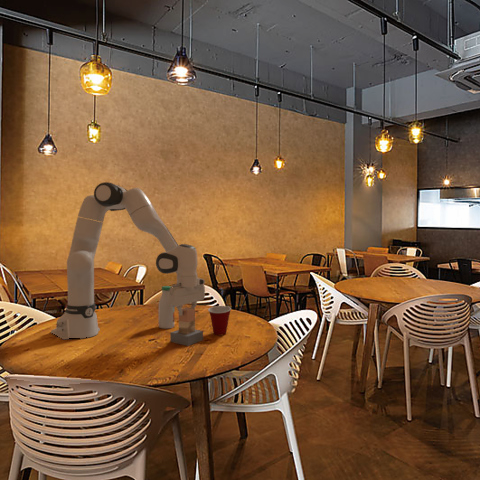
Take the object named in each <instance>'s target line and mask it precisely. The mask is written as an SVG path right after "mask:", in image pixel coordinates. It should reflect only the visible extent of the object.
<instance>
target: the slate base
mask: <svg viewBox="0 0 480 480" xmlns="http://www.w3.org/2000/svg"><path fill="white" fill-rule="evenodd" d="M169 334H170V342H171V343H173V344H174V343H175V344H179V345H183V346H185V347H186V346H187V347H189V346H191V345H194V344H196V343H199V342H202V341H204V330H199V329H197V328H195V332H192V333H189V334H185V333H180V332H179V329H177V330H174V331H171V332H170V333H169Z"/></svg>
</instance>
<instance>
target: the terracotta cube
mask: <svg viewBox="0 0 480 480" xmlns="http://www.w3.org/2000/svg"><path fill="white" fill-rule="evenodd" d="M182 310H183V311H184V315H179V314H178V322H179V321H182V322H187V323H188V322H191V321H194V320H195V321H196V308H195V309H193V308H191V307H182Z"/></svg>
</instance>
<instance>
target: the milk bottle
mask: <svg viewBox="0 0 480 480" xmlns="http://www.w3.org/2000/svg"><path fill="white" fill-rule="evenodd" d="M171 286H172V285H171ZM171 286H170V285H165V286H161V296H160V299H159V301H158V328H160V329H165V330H167V329H172V328H174V327H175V315H176V314H175V307H171V306H169V305H168V297H169V291H170V288H171Z"/></svg>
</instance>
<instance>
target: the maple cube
mask: <svg viewBox="0 0 480 480" xmlns="http://www.w3.org/2000/svg"><path fill="white" fill-rule="evenodd" d="M195 329H196V319H195V320H194V321H191V322H188V323H187V322H182V321H179V320H178V330H179V332H180V333H185V334H189V333H192V332H195Z"/></svg>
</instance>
